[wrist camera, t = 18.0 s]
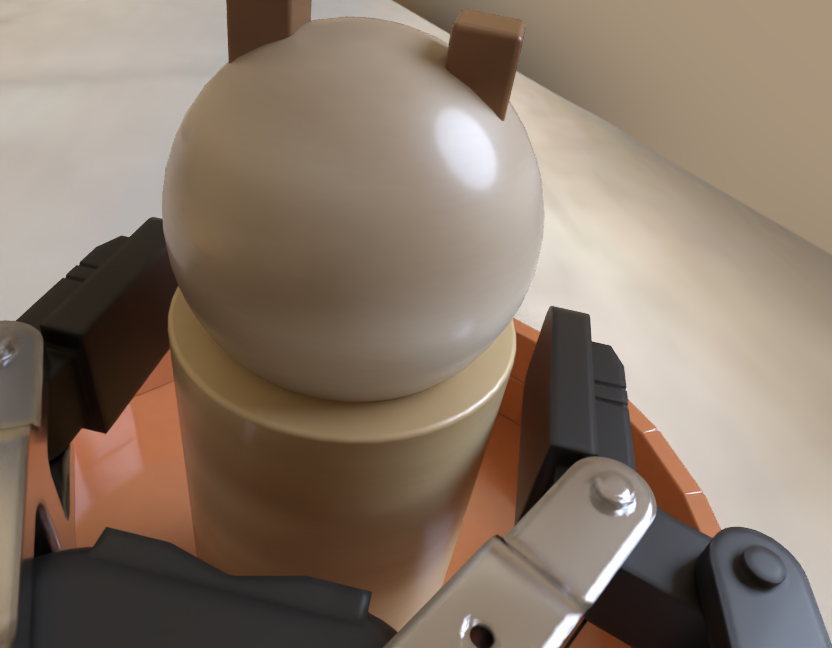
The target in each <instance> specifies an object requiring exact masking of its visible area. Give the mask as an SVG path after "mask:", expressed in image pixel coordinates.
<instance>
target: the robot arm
mask: <svg viewBox="0 0 832 648" xmlns="http://www.w3.org/2000/svg"><path fill="white" fill-rule="evenodd" d="M177 287H178V283H177V281H176V278H175V275H174V273H173V270H172V268H171V264H170V260H169V256H168V252H167V247H166V242H165V237H164V232H163V219H161V218H156V217H151V218H149V219H148V220H147V221H146V222H145V223H144V224H143V225H142V226H141V227H140V228H139V229H138V230H136V231H135V232H134V233H133V234H132V235H131V236H130V237H125V236H120V237H117V238H115V239H113V240H111V241H109V242H106V243H104V244H102V245H100V246H98V247H96V248H95V249H94V250H93V251H92V252H91V253H89V254H88V255H87V256H86V257H85V258H84V259H83V260H82V261H81V262H80V265H79V266H77V265H76V266H75V267H74V268H73V269H72V270H71V271H70V272H69V273H68V274H67V275H66V278H62V279H61V280H60V281H59V282H58V283H57V284H56V285H54V286H53V287H52V288H51V289H50V290H49V291H48V292H47V293H46V294H45V295H44V296H42V297H41V298H40V299H39V300H38V301H37V302H36V303H35V304H34V305H33V306H32V307H30V308H29V309H28V310H27V311H26V312H25V313H24V314H23V315H22V316H21V317H20V318H18V319H17V320H16V321H0V648H570V646H571V645H572V643H573V642H574V641H575V639H576V638H577V636H578V635H579V634H580V632H581V631H582V629H583V628H584V627H585V625H586V624H587V622H590V623H592V624H593V625H595V626H597V627H598V628H600V629H602V630H603V631H605V632H607V633H608V634H610V635H612V636H614V637H615V638H617V639H619V640H620V641H622V642H624V643H625V644H627V645H629V646H631V647H632V648H832V644H831V641H830V639H829V636H828V633H827V630H826V628H825V625H824V622H823V619H822V616H821V614H820V611H819V608H818V605H817V603H816V600H815V597H814V594H813V592H812V589H811V586H810V583H809V581H808V578H807V576H806V574H805V572H804V570H803V569H802V567H801V565H800V564H799V563H798V561H797V560H796V559H795V557H794V556H793V555H792V554H791V553H790V552H789V551H788V550H787V549H786V548H784V547H783V546H782V545H781V544H780V543H778V542H777V541H775V540H774V539H772V538H771V537H769V536H767V535H765V534H763V533H761V532H758V531H756V530H752V529H749V528H744V527H730V528H725V529H723V530H721V531H719V532H718V533H717V534H716V535H715V536H714V537H713V538H712V537H710V536H708V535H706V534H704V533H702V532H700V531H698V530H696V529H694V528H692V527H691V526H689V525H687V524H685V523H683V522H681V521H679V520H677V519H675V518H674V517H672V516H670V515H669V514H667V513H666V512H665V511H663V510H662V509H661V508H660V507H659V506H657V505H656V500H655V496H654V494H653V492H652V490H651V488H650V486H649V485H648V484H647V482H646V481H645V480H644V479H643V478H642V477H641V476H640V475H639V474H638V473H637V472H636V466H635V457H634V449H633V440H632V432H631V423H630V415H629V408H627V406H628V398H627V391H625V390H626V381H625V372H624V366H623V364H622V363H621V361H620V360H619V358H618V356H617V355H616V353H615V352H614V350H613V349H612V347H611V346H609V345H605V344H600V343H596V342H592V341H591V325H590V316H589V314H586V313H581V312H577V311H572V310H568V309H563V308H558V307H554V306H550V308H549V310H548V312H547V314H546V317H545V320H544V323H543V326H542V329H541V332H540V334H539V337H538V340H537V343H536V346H535V349H534V352H533V355H532V358H531V361H530V363H529V367H528V370H527V374H526V378H525V383H524V389H523V400H522V415H521V430H520V446H519V461H518V477H517V492H516V508H515V523H514V527H513V528H512V529H511V530H510V532H509V533H508V534H506V535H505V536H504V537H501V536H499V535H495V536H493V537H491V538H490V539H489V540H488V541H486V542H485V543H484V544H483V545H482V546H481V547H480V548H479V549H478V550H477V551H476V552H475V553H474V554H473V555H472V556H471V558H470V559H469V560H468V561H467V562H466V563H465V564H464V565H463V566H462V567H461V568H460V569H459V570H458V571H457V572H456V573H455V574H454V575H453V576H452V577H451V578H450V579H449V580H448V581H447V582H446V583H445V584H444V585H443V586H442V587H441V588H440V589H439V590H438V592H437V593H436V594H435V595H434V596H433V597H432V598H431V599H430V600H429V601H428V602H427V603H426V604H425V605H424V606H423V607H422V608H421V609H420V610H419V611H418V612H417V613H416V614H415V615H414V616H413V617H412V618H411V619H410V620H409V621H408V622H407V623H406V624H405V626H404V627H403V628H402V629H401V630H400V631H399V632H397V631H396V630H395V629H394V628H392V627H391V626H390V625H388V624H387V623H386V622H384V621H383V620H382V619H380V618H378V617H376V616H374V615H373V614H371V613H369V612H368V611H369V606H370V601H371V596H372V592H371V591H366V590H362V589H358V588H354V587H350V586H346V585H342V584H338V583H334V582H330V581H326V580H322V579H318V578H313V577H309V576H233V575H229V574H226V573H224V572H222V571H221V570H219V569H217V568H215V567H213V566H212V565H210V564H208V563H206V562H205V561H203V560H201V559H199V558H197V557H196V556H194V555H192V554H190V553H188V552H187V551H185V550H183V549H181V548H180V547H178V546H176V545H174V544H172V543H171V542H167V541H163V540H159V539H155V538H151V537H146V536H142V535H138V534H134V533H130V532H126V531H122V530H118V529H114V528H110V527H105V529H104V530H103V532H102V534H101V535H100V537H99V538H98V540H97V541H96V543H95V544H94V546H93V547H81V548H77V544H76V533H75V450H74V445H73V442H72V440H73V439H74V438H75V436H76V435H77V434H78V433H79V431H80V430H81V429H82V428H83V429H87V430H92V431H96V432H100V433H104V434H107V432H108V431H109V430H110V428H111V427H112V426H113V424H114V423H115V422H116V420H117V419H118V418H119V416H120V415H121V414H122V412H123V411H124V410H125V408H126V407H127V406H128V404H129V403H130V402H131V400H132V399H133V397H134V396H135V395H136V393H137V392H138V391H139V389H140V388H141V387H142V385H143V384H144V383H145V381H146V380H147V379H148V377H149V376H150V375H151V373H152V372H153V371H154V369H155V368H156V366H157V365H158V364H159V362H160V361H161V360H162V358H163V357H164V356H165V354H166V353H167V352H168V350H169V349H170V345H169V337H168V313H169V308H170V304H171V300H172V298H173V296H174V294H175V292H176V289H177Z"/></svg>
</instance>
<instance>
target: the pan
mask: <svg viewBox="0 0 832 648" xmlns="http://www.w3.org/2000/svg"><path fill="white" fill-rule="evenodd" d="M513 323H514V327H515V332H516V354H515V359H514V364H513V367H512V370H511V373H510V377H509V380H508V383H507V386H506V389H505V392H504V395H503V398H502V401H501V405H500V408H499V411H498V414H497V417H496V420H495V423H494V426H493V429H492V433H491V436H490V439H489V442H488V445H487V448H486V451H485V454H484V457H483V461H482V464H481V467H480V470H479V473H478V476H477V479H476V482H475V485H474V489H473V492H472V495H471V498H470V501H469V504H468V507H467V510H466V513H465V517H464V520H463V523H462V526H461V529H460V532H459V535H458V538H457V541H456V545H455V548H454V551H453V554H452V557H451V560H450V563H449V566H448V569H447V572H446V576H445V579H444V582H443V585H444V584H445V583H446V582H447V581H448V580H449V579H450V578H451V577H452V576H453V575H454V574H455V573H456V572H457V571H458V570H459V569H460V568H461V567H462V566H463V565H464V564H465V563H466V562H467V561H468V560H469V559H470V558H471V556H472V555H473V554H474V553H475V552H476V551H477V550H478V549H479V548H480V547H481V546H482V545H483V544H484V543H485V542H486V541H488V540H489V539H490V538H491V537H493V536H495V535H499V536H501V537H504V536H505V535H506V534H508V533H509V532H510V530H511V529H512V528H513V527H514V523H515V508H516V492H517V477H518V461H519V446H520V430H521V415H522V400H523V389H524V383H525V378H526V374H527V370H528V367H529V363H530V361H531V358H532V355H533V352H534V349H535V346H536V343H537V340H538V337H539V334H540V332H539V331H537V330H535V329H534V328H532V327H530V326H528V325H526V324H524V323H522V322H520V321H518V320H517V319H515V318H513ZM627 408H629V415H630V423H631V432H632V440H633V449H634V457H635V466H636V472H637V473H638V474H639V475H640V476H641V477H642V478H643V479H644V480H645V481H646V482H647V484H648V485H649V486H650V488H651V490H652V492H653V494H654V496H655V500H656V505H657V506H659V507H660V508H661V509H662V510H663V511H665V512H666V513H667V514H669V515H670V516H672V517H674V518H675V519H677V520H679V521H681V522H683V523H685V524H687V525H689V526H691V527H692V528H694V529H696V530H698V531H700V532H702V533H704V534H706V535H708V536H710V537H712V538H713V537H714V536H715V535H716V534H717V533H718V532H719V531H721V528H720V526H719V524H718V522H717V520H716V518H715V516H714V513H713V511H712V509H711V507H710V505H709V503H708V501H707V498H706V496H705V495H704V494H703V492H702V490H701V489H700V487H699V486H698V484H697V483H696V482H695V480H694V479H693V477H692V476H691V475H690V473H689V472H688V470H687V469H686V468H685V466H684V465H683V463H682V462H681V460H680V459H679V458H678V456H677V455H676V453H675V452H674V451H673V449H672V448H671V446H670V445H669V444H668V442H667V441H666V439H665V438H664V437H663V435H662V434H661V432H660V431H658V430H657V428H656V427H655V426H654V425H653V424H652V423H651V422H650V421H649V420H648V419H647V418H646V417H645V416H644V415H643V414H642V413H641V412H640V411H639V410H638V409H637V408H636V407H635V406H634V405H633V404H632V403H631V402H630V401H629V400H628V406H627ZM72 442H73V445H74V450H75V533H76V544H77V548H81V547H93V546H94V544H95V543H96V541H97V540H98V538H99V537H100V535H101V534H102V532H103V530H104V529H105V527H110V528H114V529H118V530H122V531H126V532H130V533H134V534H138V535H142V536H146V537H151V538H155V539H159V540H163V541H167V542H171V543H172V544H174V545H176V546H178V547H180V548H181V549H183V550H185V551H187V552H188V553H190V554H192V555H194V556H196V557H197V553H196V546H195V538H194V530H193V523H192V515H191V507H190V499H189V492H188V484H187V476H186V468H185V461H184V453H183V445H182V438H181V430H180V422H179V414H178V407H177V399H176V391H175V383H174V376H173V368H172V360H171V352H170V349H169V350H168V352H167V353H166V354H165V356H164V357H163V358H162V360H161V361H160V362H159V364H158V365H157V366H156V368H155V369H154V371H153V372H152V373H151V375H150V376H149V377H148V379H147V380H146V381H145V383H144V384H143V385H142V387H141V388H140V389H139V391H138V392H137V393H136V395H135V396H134V397H133V399H132V400H131V402H130V403H129V404H128V406H127V407H126V408H125V410H124V411H123V412H122V414H121V415H120V416H119V418H118V419H117V420H116V422H115V423H114V424H113V426H112V427H111V428H110V430H109V431H108V432H107V434H104V433H100V432H96V431H92V430H87V429H83V428H82V429H81V430H80V431H79V433H78V434H77V435H76V436H75V438H74V439H73V440H72ZM443 585H442V586H443ZM570 648H632V647H631V646H629V645H627V644H625V643H624V642H622V641H620V640H619V639H617V638H615V637H614V636H612V635H610V634H608V633H607V632H605V631H603V630H602V629H600V628H598V627H597V626H595V625H593V624H592V623H590V622H587V624H586V625H585V627H584V628H583V629H582V631H581V632H580V634H579V635H578V636H577V638H576V639H575V641H574V642H573V643H572V645H571V646H570Z"/></svg>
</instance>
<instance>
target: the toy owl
mask: <svg viewBox="0 0 832 648" xmlns="http://www.w3.org/2000/svg"><path fill="white" fill-rule="evenodd" d="M226 2H227V28H228V53H229V62H228V63H226V64H225V65H224V66H223V67H222V68H221V69H220V70H219V71H218V72H217V73H216V74H215V75H214V76H213V77H212V79H211V80H210V81H209V82H208V83H207V84H206V85H205V86H204V88H203V89H202V91H201V92H200V94H199V95H198V96H197V98H196V99H195V101H194V102H193V104H192V105H191V107H190V108H189V110H188V111H187V113H186V114H185V117H184V119H183V121H182V123H181V125H180V127H179V129H178V131H177V134H176V136H175V139H174V142H173V145H172V148H171V152H170V155H169V159H168V162H167V166H166V169H165V177H164V185H163V193H162V216H163V232H164V237H165V242H166V247H167V252H168V256H169V260H170V264H171V268H172V270H173V273H174V275H175V278H176V281H177V283H178V287H177V289H176V292H175V294H174V296H173V298H172V300H171V304H170V308H169V313H168V337H169V345H170V352H171V360H172V368H173V376H174V383H175V391H176V399H177V407H178V414H179V422H180V430H181V438H182V445H183V453H184V461H185V468H186V476H187V484H188V492H189V499H190V507H191V515H192V523H193V530H194V538H195V546H196V553H197V558H199V559H201V560H203V561H205V562H206V563H208V564H210V565H212V566H213V567H215V568H217V569H219V570H221V571H222V572H224V573H226V574H229V575H233V576H309V577H313V578H318V579H322V580H326V581H330V582H334V583H338V584H342V585H346V586H350V587H354V588H358V589H362V590H366V591H371V592H372V596H371V601H370V606H369V611H368V612H369V613H371V614H373V615H374V616H376V617H378V618H380V619H382V620H383V621H384V622H386V623H387V624H388V625H390V626H391V627H392V628H394V629H395V630H396V631H397V632H399V631H400V630H401V629H402V628H403V627H404V626H405V624H406V623H407V622H408V621H409V620H410V619H411V618H412V617H413V616H414V615H415V614H416V613H417V612H418V611H419V610H420V609H421V608H422V607H423V606H424V605H425V604H426V603H427V602H428V601H429V600H430V599H431V598H432V597H433V596H434V595H435V594H436V593H437V592H438V590H439V589H440V588H441V587H442V585H443V582H444V579H445V576H446V572H447V569H448V566H449V563H450V560H451V557H452V554H453V551H454V548H455V545H456V541H457V538H458V535H459V532H460V529H461V526H462V523H463V520H464V517H465V513H466V510H467V507H468V504H469V501H470V498H471V495H472V492H473V489H474V485H475V482H476V479H477V476H478V473H479V470H480V467H481V464H482V461H483V457H484V454H485V451H486V448H487V445H488V442H489V439H490V436H491V433H492V429H493V426H494V423H495V420H496V417H497V414H498V411H499V408H500V405H501V401H502V398H503V395H504V392H505V389H506V386H507V383H508V380H509V377H510V373H511V370H512V367H513V364H514V359H515V354H516V332H515V327H514V323H513V317H514V316H515V314H516V312H517V311H518V309H519V307H520V306H521V304H522V302H523V300H524V298H525V296H526V293H527V291H528V289H529V286H530V284H531V281H532V279H533V276H534V274H535V271H536V267H537V263H538V258H539V254H540V250H541V244H542V239H543V228H544V203H543V190H542V180H541V176H540V171H539V167H538V162H537V158H536V155H535V153H534V150H533V147H532V145H531V142H530V139H529V137H528V134H527V132H526V129H525V127H524V125H523V123H522V122H521V120H520V118H519V116H518V115H517V113H516V111H515V109H514V108H513V106H512V104H511V103H510V101H509V99H510V95H511V90H512V86H513V82H514V77H515V73H516V69H517V65H518V60H519V56H520V52H521V48H522V43H523V38H524V33H525V23H524V22H523V21H522V20H519V19H514V18H509V17H504V16H499V15H494V14H489V13H484V12H479V11H474V10H469V9H465V10H462V11H461V12H460V14H459V16H458V17H457V19H456V21H455V23H454V25H453V27H452V28H451V34H450V40H449V44H447V43H446V42H444V41H442V40H440V39H438V38H436V37H434V36H432V35H430V34H427V33H425V32H422V31H420V30H417V29H415V28H412V27H410V26H407V25H404V24H400V23H396V22H392V21H387V20H382V19H375V18H366V17H339V18H329V19H320V20H313V21H311V0H226Z"/></svg>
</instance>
